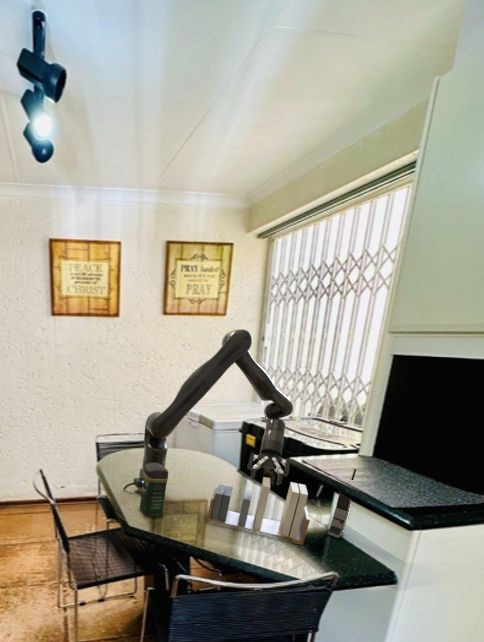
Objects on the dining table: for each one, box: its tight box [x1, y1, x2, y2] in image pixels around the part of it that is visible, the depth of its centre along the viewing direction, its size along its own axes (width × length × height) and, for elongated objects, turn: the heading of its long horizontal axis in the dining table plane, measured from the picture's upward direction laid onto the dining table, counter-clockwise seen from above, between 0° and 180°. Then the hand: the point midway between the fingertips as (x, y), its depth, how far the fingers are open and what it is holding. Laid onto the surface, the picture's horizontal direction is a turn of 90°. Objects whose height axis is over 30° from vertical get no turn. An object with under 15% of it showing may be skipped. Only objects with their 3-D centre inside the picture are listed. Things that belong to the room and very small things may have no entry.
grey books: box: [211, 483, 253, 526], centre depth 141 cm, size 12×10×10 cm
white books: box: [279, 481, 309, 538], centre depth 134 cm, size 5×10×16 cm, turn 159°
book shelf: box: [206, 487, 311, 546], centre depth 139 cm, size 32×12×10 cm, turn 69°
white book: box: [254, 476, 271, 530], centre depth 137 cm, size 2×10×16 cm, turn 159°
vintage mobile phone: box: [327, 468, 357, 539], centre depth 135 cm, size 4×5×25 cm
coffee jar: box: [139, 463, 169, 518], centre depth 141 cm, size 10×8×19 cm
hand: (265, 481), depth 141 cm, fingers open, 8 cm apart
